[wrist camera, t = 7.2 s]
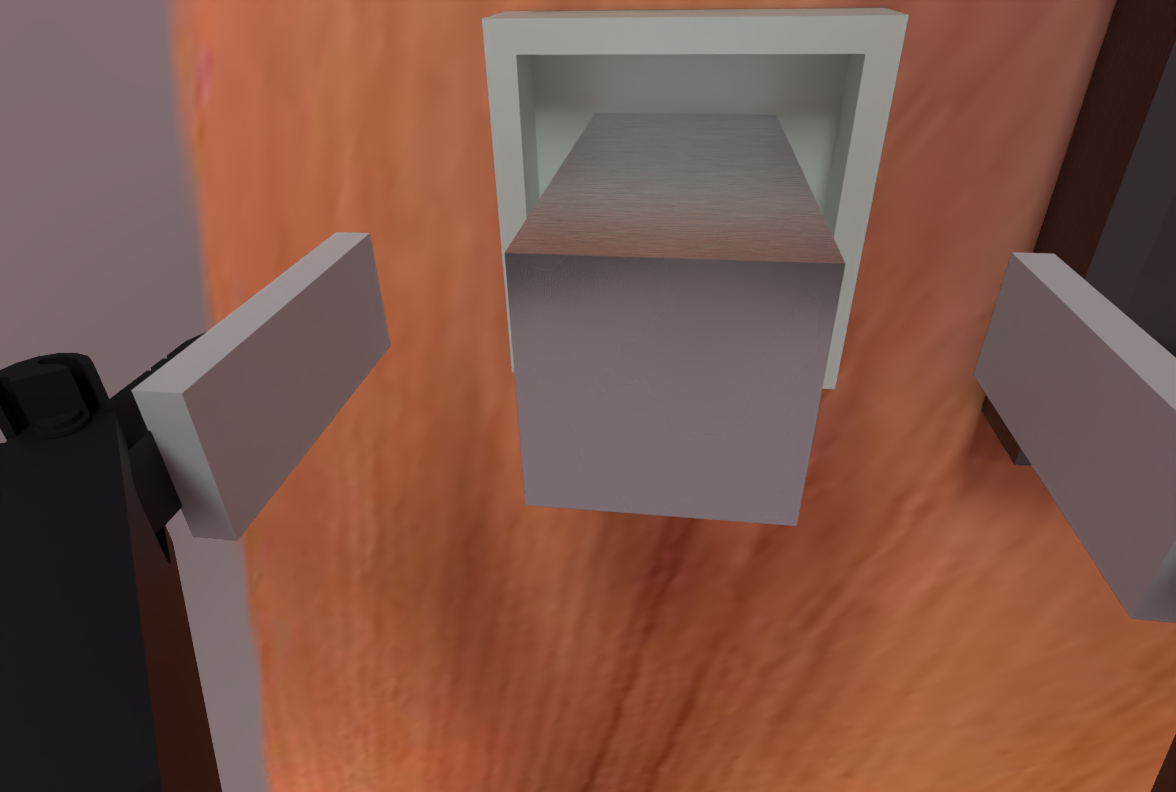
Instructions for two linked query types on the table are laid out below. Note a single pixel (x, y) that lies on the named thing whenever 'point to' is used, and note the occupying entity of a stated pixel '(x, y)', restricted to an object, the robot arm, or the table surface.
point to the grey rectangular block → (673, 321)
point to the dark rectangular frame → (1121, 181)
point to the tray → (699, 98)
